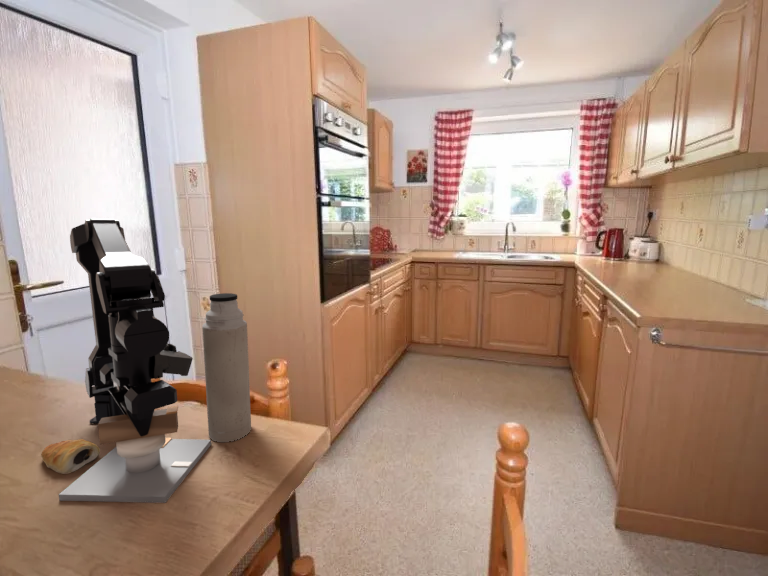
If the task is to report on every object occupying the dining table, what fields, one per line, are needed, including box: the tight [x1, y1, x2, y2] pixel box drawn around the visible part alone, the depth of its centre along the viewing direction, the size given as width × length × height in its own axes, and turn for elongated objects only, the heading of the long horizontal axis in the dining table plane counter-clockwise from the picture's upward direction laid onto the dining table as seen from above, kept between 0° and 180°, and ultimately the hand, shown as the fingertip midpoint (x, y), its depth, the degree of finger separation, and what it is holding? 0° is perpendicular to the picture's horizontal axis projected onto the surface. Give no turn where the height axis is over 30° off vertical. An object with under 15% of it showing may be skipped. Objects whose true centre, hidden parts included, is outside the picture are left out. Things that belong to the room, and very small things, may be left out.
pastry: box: [40, 438, 101, 475], centre depth 71 cm, size 9×7×4 cm
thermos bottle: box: [201, 292, 252, 443], centre depth 79 cm, size 8×8×28 cm
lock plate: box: [58, 437, 212, 504], centre depth 68 cm, size 16×16×4 cm
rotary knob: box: [97, 405, 179, 458], centre depth 68 cm, size 7×11×6 cm, turn 112°
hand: (140, 431), depth 68 cm, fingers closed on rotary knob, 3 cm apart
